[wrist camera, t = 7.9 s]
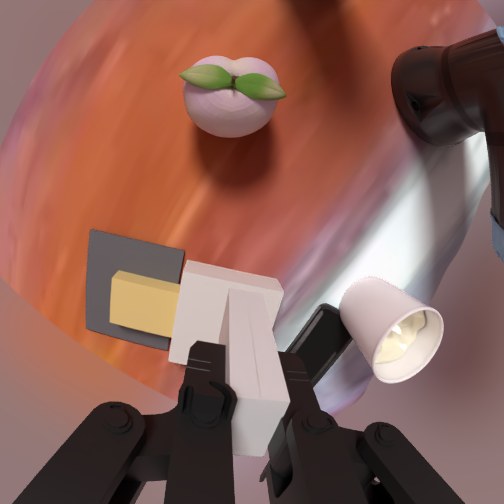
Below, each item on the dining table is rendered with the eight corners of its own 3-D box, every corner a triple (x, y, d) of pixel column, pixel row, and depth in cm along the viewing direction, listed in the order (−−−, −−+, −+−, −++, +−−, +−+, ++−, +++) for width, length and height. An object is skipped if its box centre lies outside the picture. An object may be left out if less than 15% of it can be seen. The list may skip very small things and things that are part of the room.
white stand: (277, 278, 35) (284, 292, 31) (252, 357, 37) (255, 376, 34) (187, 259, 33) (183, 271, 29) (172, 343, 35) (168, 361, 32)
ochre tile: (181, 284, 33) (179, 293, 30) (174, 327, 34) (172, 337, 32) (118, 270, 32) (111, 277, 29) (115, 312, 33) (109, 322, 31)
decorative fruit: (185, 142, 29) (170, 129, 19) (190, 75, 27) (179, 38, 17) (270, 145, 30) (292, 133, 21) (272, 78, 28) (294, 43, 18)
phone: (262, 384, 38) (324, 303, 35) (261, 379, 39) (321, 299, 36) (304, 397, 40) (364, 324, 37) (303, 393, 41) (361, 320, 38)
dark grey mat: (184, 250, 32) (184, 251, 32) (168, 348, 36) (167, 350, 35) (91, 229, 30) (90, 229, 30) (87, 326, 34) (85, 328, 33)
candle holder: (402, 275, 37) (455, 310, 25) (379, 334, 39) (420, 380, 28) (346, 264, 35) (396, 304, 24) (324, 331, 37) (359, 386, 26)
